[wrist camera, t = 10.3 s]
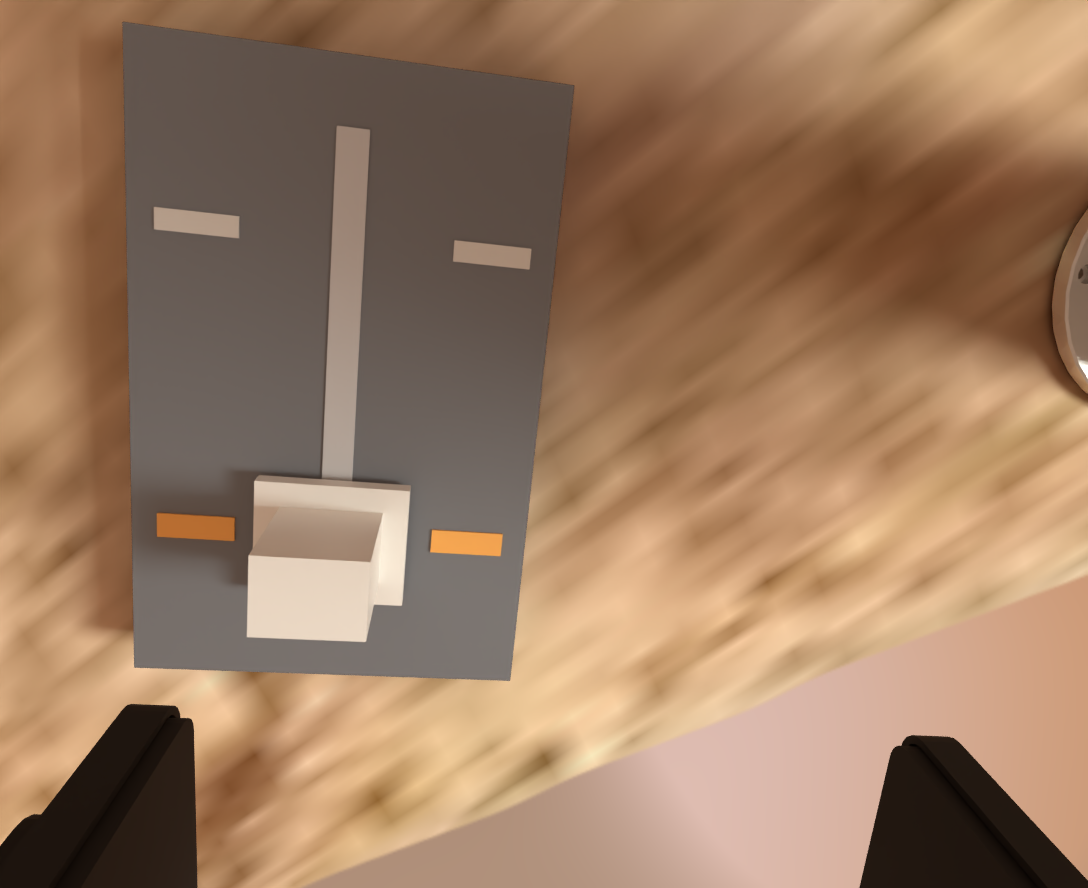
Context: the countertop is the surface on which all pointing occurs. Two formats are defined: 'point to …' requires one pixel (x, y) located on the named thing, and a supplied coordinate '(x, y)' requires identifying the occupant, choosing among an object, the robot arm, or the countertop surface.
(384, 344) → the console
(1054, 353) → the countertop surface
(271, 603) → the fader
